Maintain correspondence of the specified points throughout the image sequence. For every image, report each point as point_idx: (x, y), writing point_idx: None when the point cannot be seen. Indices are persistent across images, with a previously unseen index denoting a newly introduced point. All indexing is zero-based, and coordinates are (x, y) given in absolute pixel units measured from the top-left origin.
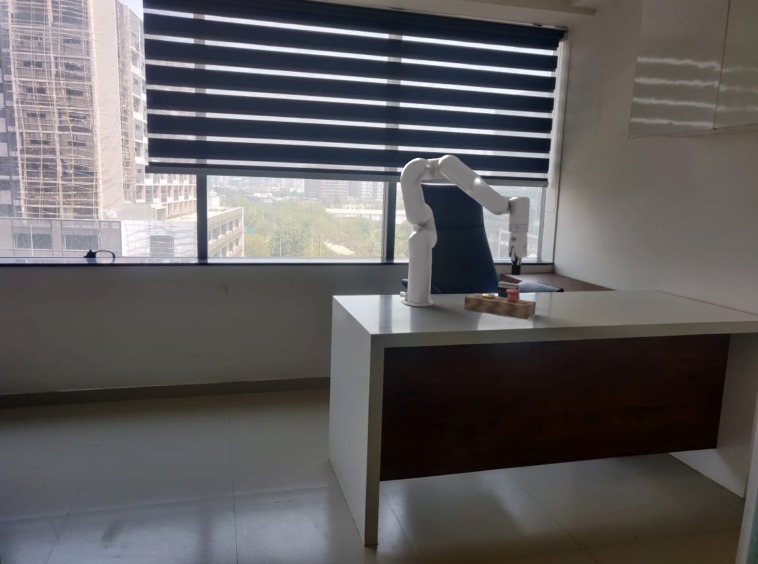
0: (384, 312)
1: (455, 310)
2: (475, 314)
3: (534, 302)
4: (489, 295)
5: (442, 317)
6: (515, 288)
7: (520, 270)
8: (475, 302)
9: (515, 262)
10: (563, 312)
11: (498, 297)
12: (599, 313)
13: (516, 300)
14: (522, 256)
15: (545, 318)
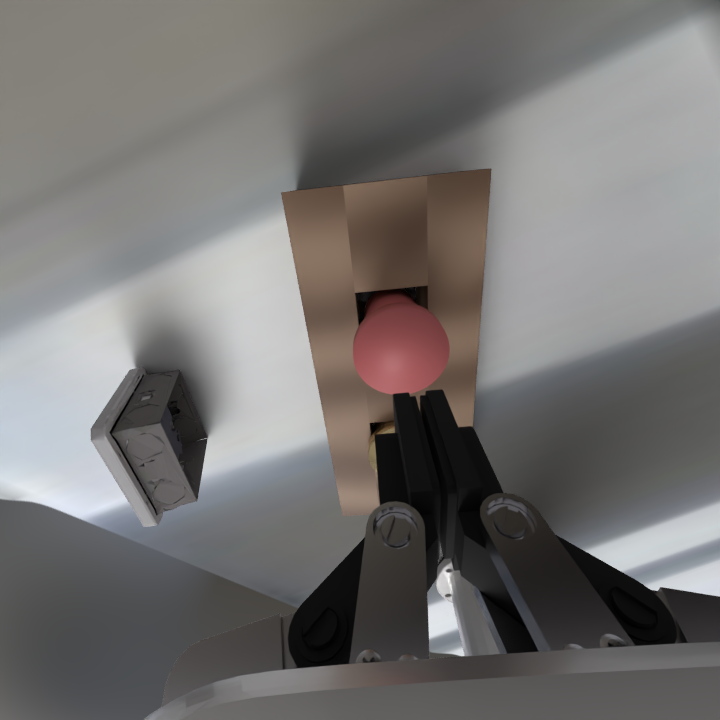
0: (668, 568)
1: (502, 471)
2: (526, 396)
3: (313, 191)
4: None
5: (657, 448)
6: (144, 424)
7: (403, 425)
8: None
9: (586, 568)
10: (60, 47)
11: (350, 415)
12: None
13: (394, 298)
14: (696, 693)
15: (361, 72)
